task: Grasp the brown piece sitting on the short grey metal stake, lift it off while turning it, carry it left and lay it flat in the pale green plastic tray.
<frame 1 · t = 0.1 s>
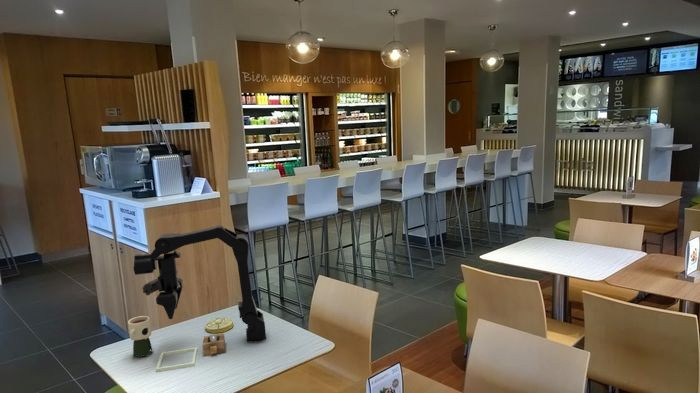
hand: (172, 313, 166), 15 cm above the table, fingers open, 9 cm apart
stake: (214, 351, 167), on the table
tray: (177, 362, 160), on the table
character mug: (143, 354, 168), on the table
decorated donut: (219, 330, 186), on the table
brown piece: (214, 349, 167), point 1 cm above the table, touching stake
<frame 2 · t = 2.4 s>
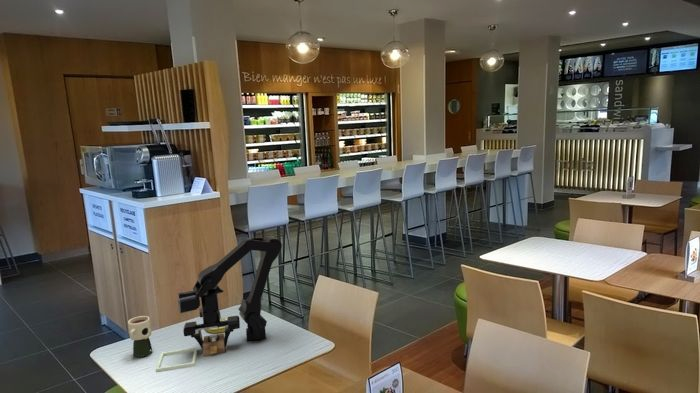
hand: (214, 348, 167), 1 cm above the table, fingers closed on brown piece, 7 cm apart
brown piece: (214, 349, 167), point 1 cm above the table, touching gripper, stake
everything else where it was.
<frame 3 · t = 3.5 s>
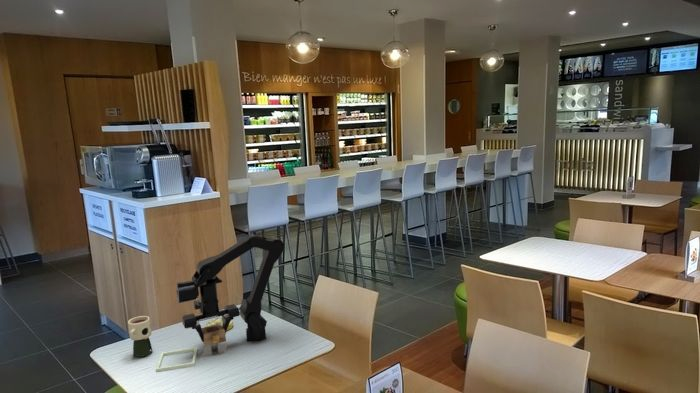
hand: (213, 338, 166), 5 cm above the table, fingers closed on brown piece, 7 cm apart
brown piece: (213, 340, 166), point 4 cm above the table, touching gripper
everything else where it was.
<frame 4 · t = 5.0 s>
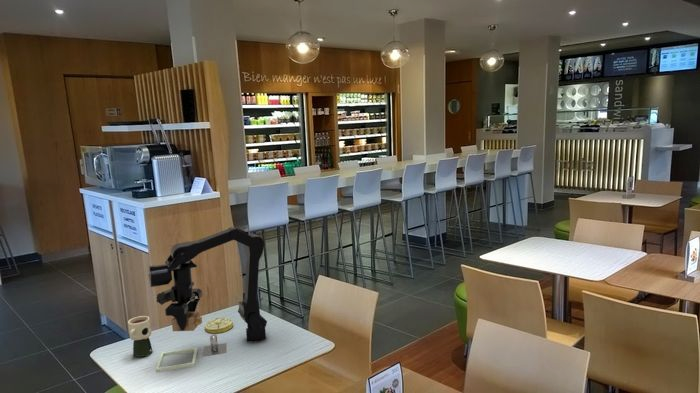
hand: (186, 325, 161), 12 cm above the table, fingers closed on brown piece, 7 cm apart
brown piece: (186, 326, 161), point 12 cm above the table, touching gripper
everything else where it was.
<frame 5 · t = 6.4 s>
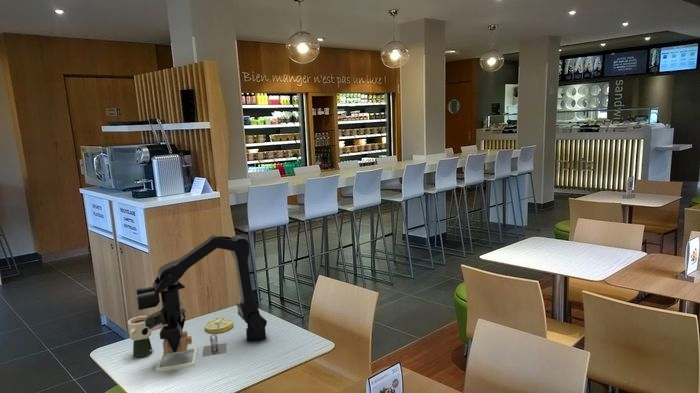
hand: (176, 346, 160), 6 cm above the table, fingers closed on brown piece, 7 cm apart
brown piece: (176, 348, 160), point 5 cm above the table, touching gripper
everything else where it was.
when the fingers open (2 cm above the table, at t = 7.6 s): brown piece drops 1 cm, resting on tray.
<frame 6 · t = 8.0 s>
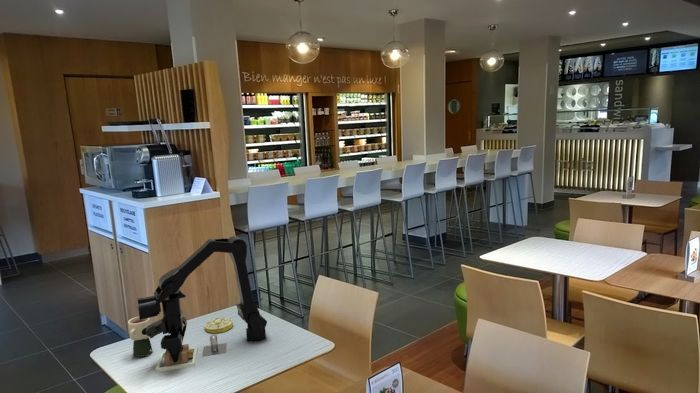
hand: (177, 355, 160), 2 cm above the table, fingers open, 9 cm apart
brown piece: (177, 360, 160), point 1 cm above the table, touching tray
everything else where it was.
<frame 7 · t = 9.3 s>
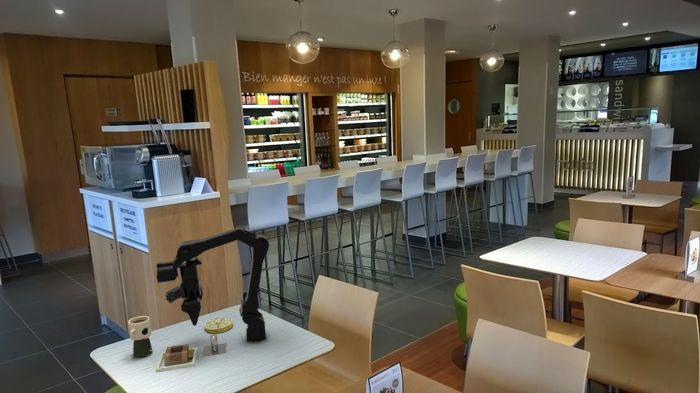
hand: (195, 320, 167), 12 cm above the table, fingers open, 9 cm apart
nothing on the table moved.
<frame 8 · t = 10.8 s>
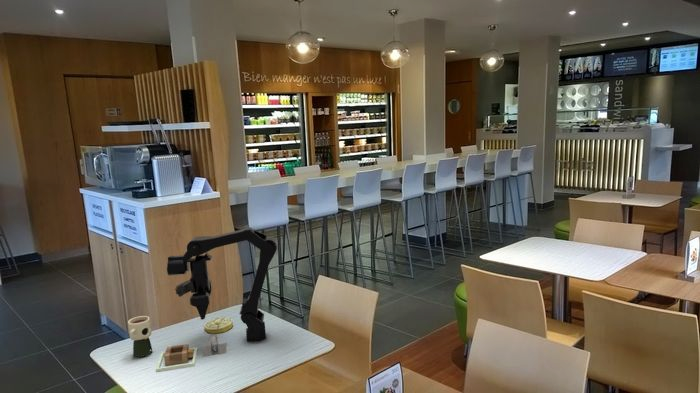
hand: (203, 314, 170), 12 cm above the table, fingers open, 9 cm apart
nothing on the table moved.
at the end: brown piece inside the target area on the tray (0.0 cm from its centre), point 0.6 cm above the tray's base; brown piece tilted 0°; the gripper is holding nothing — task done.
